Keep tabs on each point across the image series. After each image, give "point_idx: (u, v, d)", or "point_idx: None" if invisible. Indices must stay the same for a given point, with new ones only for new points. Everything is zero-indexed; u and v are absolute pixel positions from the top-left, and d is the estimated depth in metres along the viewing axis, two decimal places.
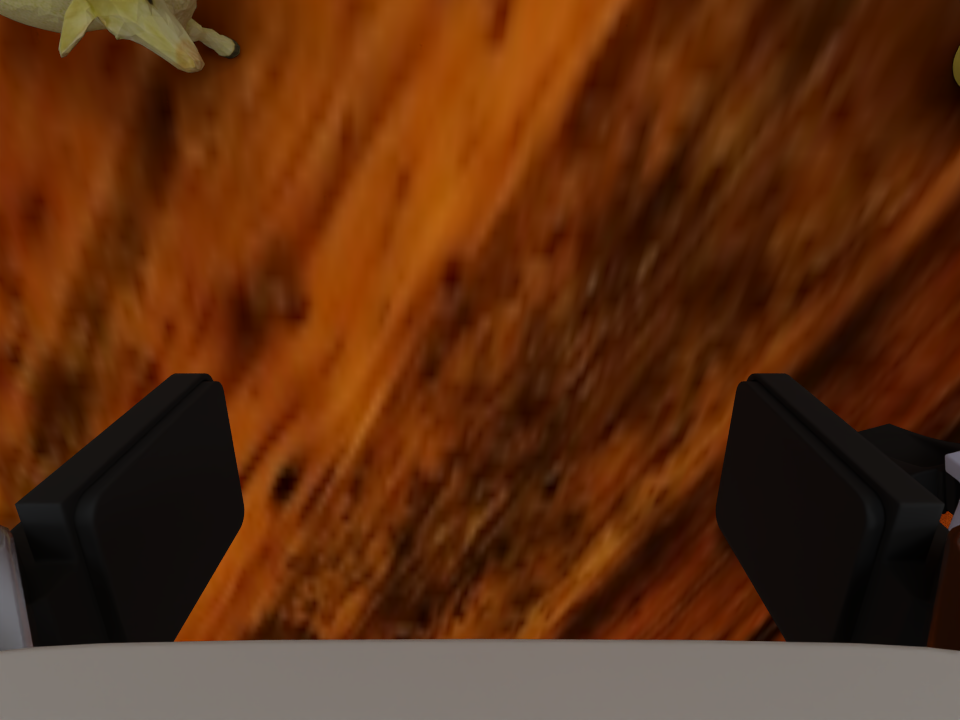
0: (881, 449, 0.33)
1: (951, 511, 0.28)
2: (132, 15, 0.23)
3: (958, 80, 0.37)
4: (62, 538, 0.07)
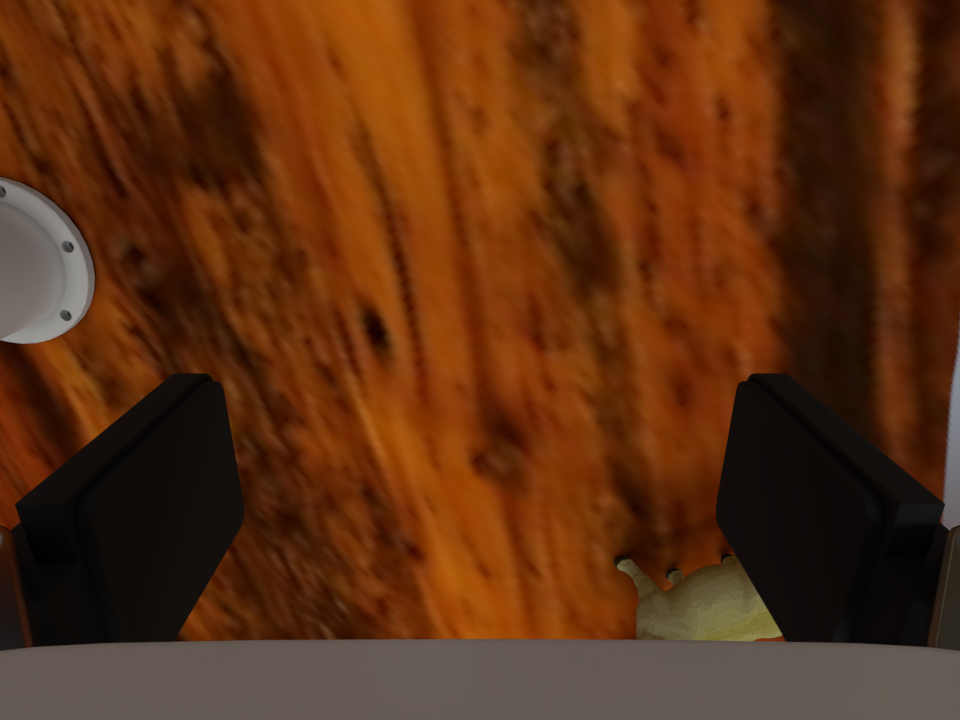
0: None
1: None
2: None
3: None
4: (62, 538, 0.07)
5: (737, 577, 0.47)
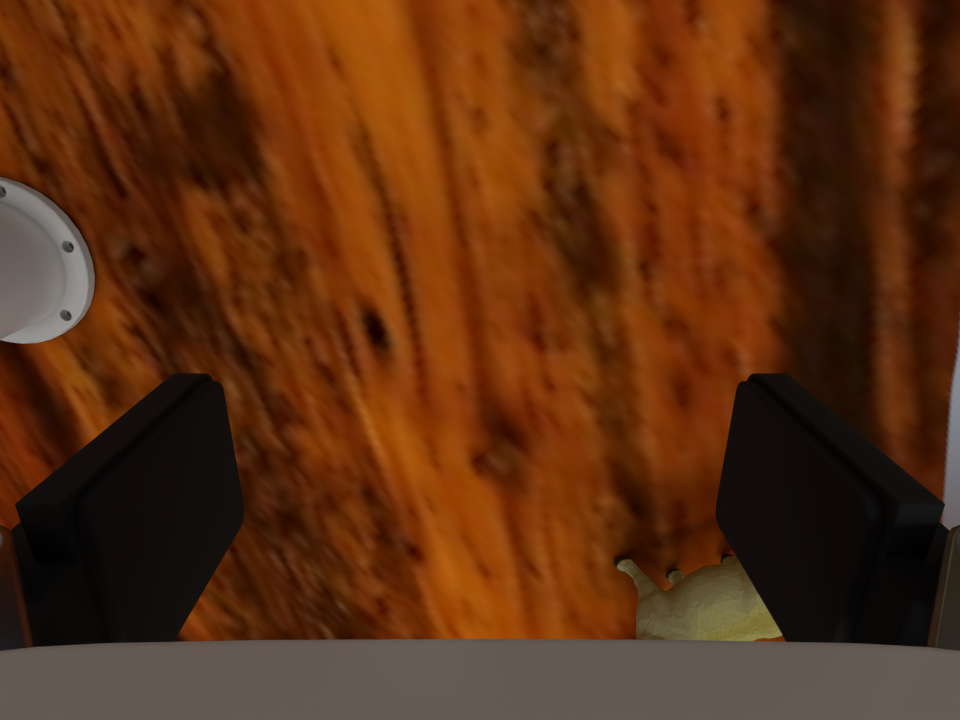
0: None
1: None
2: None
3: None
4: (62, 538, 0.07)
5: (737, 577, 0.47)
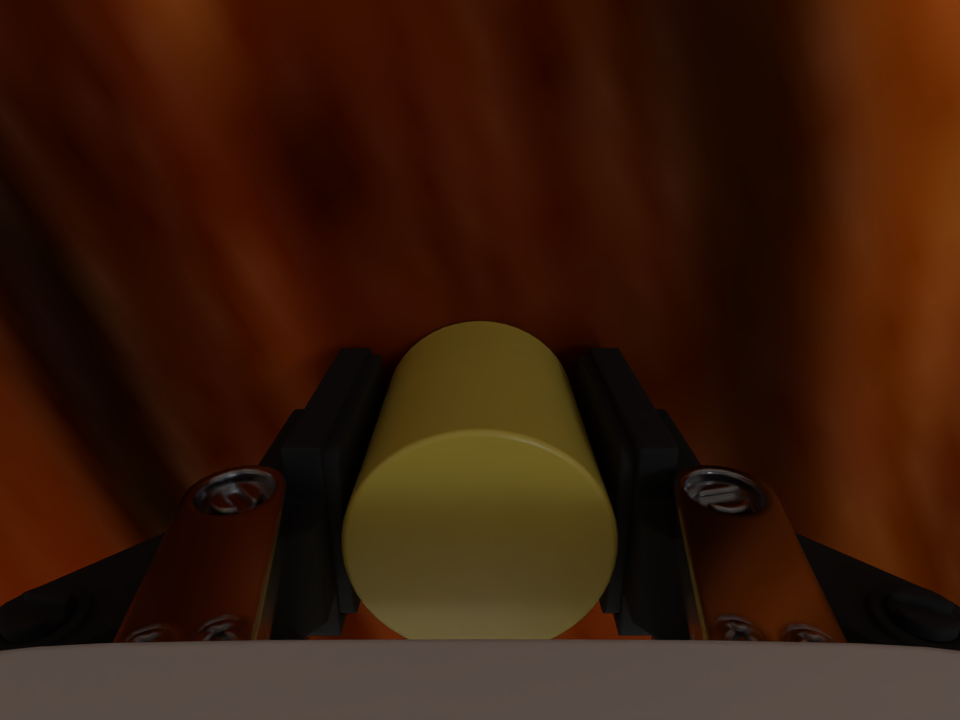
0: None
1: None
2: None
3: (402, 360, 0.12)
4: (314, 479, 0.08)
5: None
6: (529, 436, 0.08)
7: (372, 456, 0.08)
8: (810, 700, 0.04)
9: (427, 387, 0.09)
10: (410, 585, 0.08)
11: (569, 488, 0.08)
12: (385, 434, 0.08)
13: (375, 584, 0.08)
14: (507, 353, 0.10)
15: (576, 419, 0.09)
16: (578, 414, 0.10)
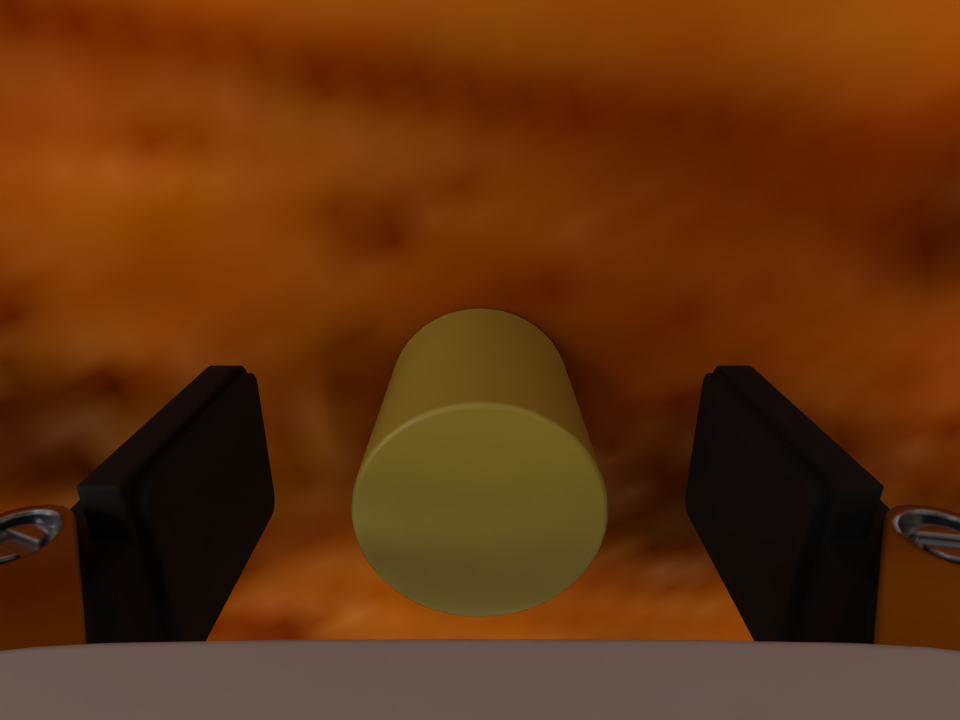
0: None
1: None
2: None
3: (406, 346, 0.12)
4: (119, 519, 0.07)
5: None
6: (525, 408, 0.08)
7: (380, 429, 0.09)
8: (810, 700, 0.04)
9: (431, 367, 0.10)
10: (415, 549, 0.09)
11: (562, 457, 0.08)
12: (392, 409, 0.09)
13: (383, 548, 0.09)
14: (505, 337, 0.11)
15: (570, 397, 0.10)
16: (572, 394, 0.11)
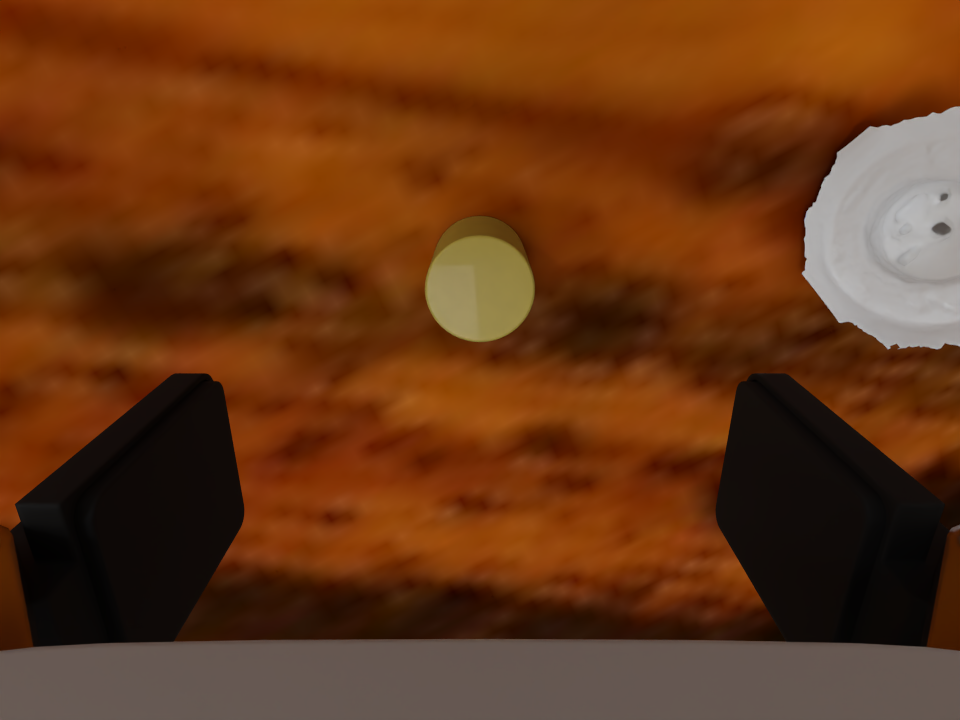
0: None
1: None
2: None
3: (442, 235, 0.24)
4: (62, 538, 0.07)
5: None
6: (498, 238, 0.20)
7: (437, 252, 0.21)
8: (810, 700, 0.04)
9: (458, 231, 0.21)
10: (452, 305, 0.21)
11: (514, 260, 0.20)
12: (441, 246, 0.21)
13: (438, 305, 0.21)
14: (492, 223, 0.22)
15: (521, 247, 0.22)
16: (523, 249, 0.22)
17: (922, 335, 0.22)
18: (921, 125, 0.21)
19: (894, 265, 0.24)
